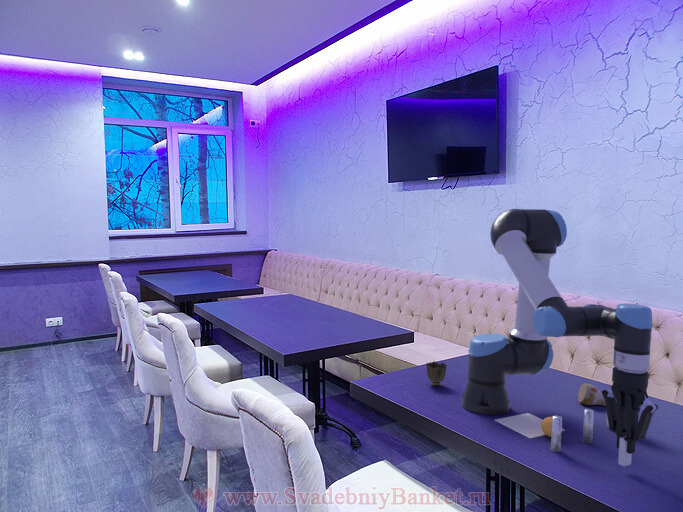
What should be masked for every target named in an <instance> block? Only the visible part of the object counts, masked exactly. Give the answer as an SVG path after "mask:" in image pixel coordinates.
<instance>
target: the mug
mask: <svg viewBox="0 0 683 512" xmlns="http://www.w3.org/2000/svg"><path fill="white" fill-rule="evenodd" d="M577 400H578V402H579V404H583V405H584V406H598V405H599V406H603V407H606V403H605V399H604V397H603V395H602V390H601V391H600V389H598V388H597V387H595V386H594V385H592V384H590V383H587V382H584V383H582V384H581V385H580V387H579V390H578V393H577Z"/></svg>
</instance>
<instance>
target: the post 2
mask: <svg viewBox="0 0 683 512" xmlns="http://www.w3.org/2000/svg"><path fill="white" fill-rule="evenodd" d="M583 411H584V412H583V413H584V414H583V425H582V426H583V429H582V443H583V444H585V445H586V444H587V445H593V440H594V439H593V438H594V437H593V435H594V422H595V421H594V419H595V410H594V409H591V408H585V409H584V410H583Z"/></svg>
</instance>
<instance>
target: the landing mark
mask: <svg viewBox="0 0 683 512" xmlns="http://www.w3.org/2000/svg"><path fill="white" fill-rule="evenodd" d="M543 420H544V419H542V418H540V417H538V416H536V415H534V414H531V413H529V412H526V413H521V414H516V415H510V416H507V417H506V416H505V417H502V418H495V419H494V422H497V423H498V424H500V425H503V426H504V427H507V428H508V429H510V430H511V431H514V432H515V433H518V434H520V435H522V436H523V437H526V438H528V439H530V440H531V439H534V438H538V437H543V436H547V435H546V434H545V433H544V432H543V431H542V428H541V423H542V421H543ZM565 431H566V429H563V428H562V432H565Z"/></svg>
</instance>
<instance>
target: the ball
mask: <svg viewBox="0 0 683 512" xmlns="http://www.w3.org/2000/svg"><path fill="white" fill-rule="evenodd" d="M542 420H543V421H542V423H541V428H542V431H543V432H544V433H545V434H546V435H545V436H547V437H550V438H551V433H552V416H547V417H545V418H544V419H542Z"/></svg>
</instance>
